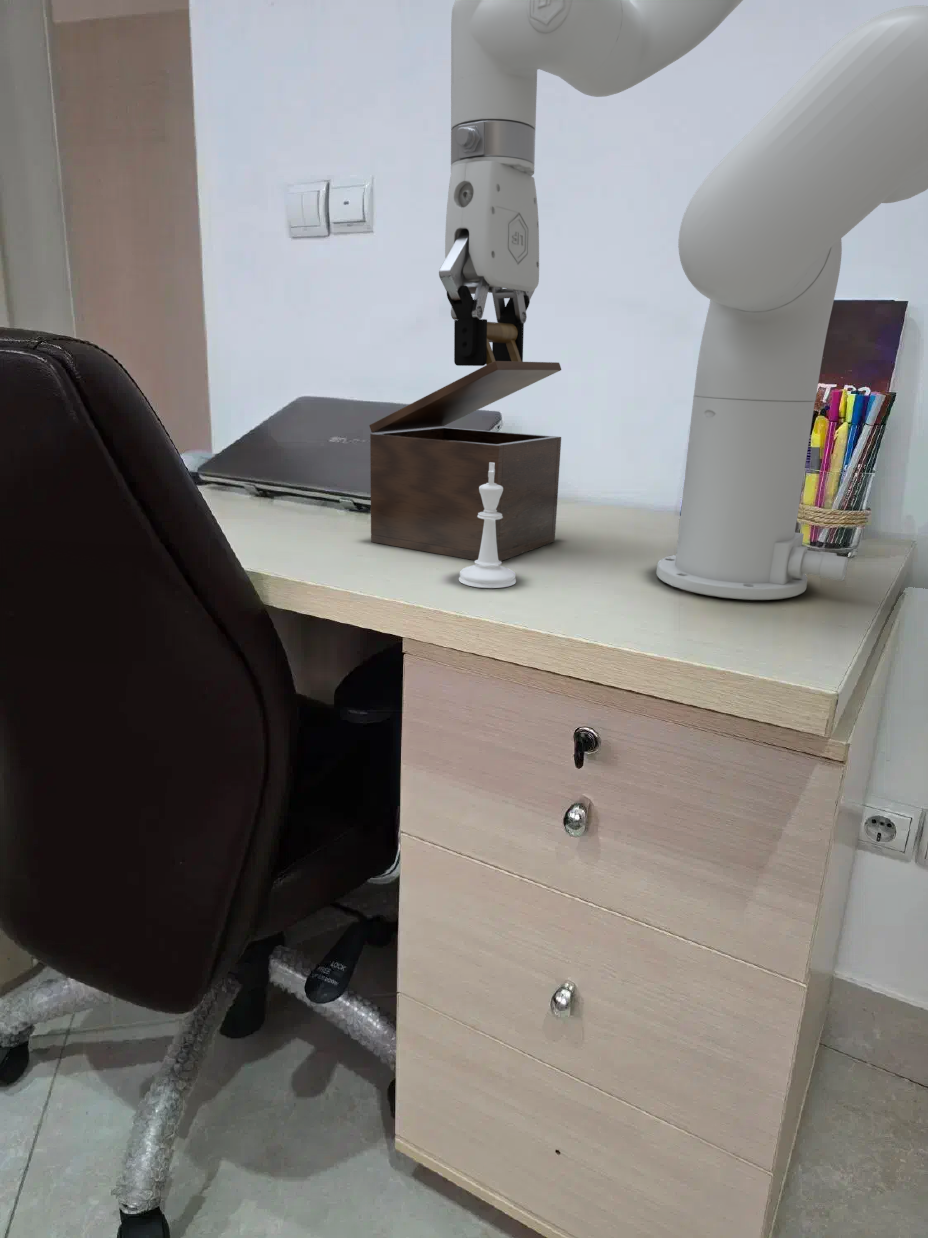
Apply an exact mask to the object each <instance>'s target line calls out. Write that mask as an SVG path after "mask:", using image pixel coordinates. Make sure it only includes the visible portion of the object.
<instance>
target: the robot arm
mask: <svg viewBox="0 0 928 1238" xmlns="http://www.w3.org/2000/svg"><path fill="white" fill-rule="evenodd" d="M743 1H744V0H454V2H453V5H452V9H451V18H450V19H451V20H450V21H451V22H450V129H451V130H450V178H449V183H448V192H447V194H448V195H447V203H446V216H445V234H444V235H445V236H444V237H445V239H444V244H445V245H444V260H443V263H442V264H441V265H440V268H439V270H438V277H439V279H440V281H441V283H442V286H443V287H444V290H445V292H446V298H447V300H448V302H449V305H450V306H451V308H450V316H451V319H452V320H454V321H453V322H454V324H453V327H454V331H453V337H454V340H453V341H454V342H453V344H454V345H453V347H454V348H453V351H454V352H453V362H454V365H455V366H458V367H484V366H486V361H487V322H488V318H487V319H486V318H483V316H484V312H485V307H486V303H487V298H488V295H489V294H491V295H492V300H493V306H494V311H495V312H494V313H495V318H496V322H497V323H507V324H513V325H514V326H515V327H516V328H517V331H518V335H517V338H516V340H515V343H516V346H517V349H518V352H519V355H520V358H521V361H522V362H524V332H525V331H524V330H525V329H524V327H525V326H524V325H525V324H526V322H527V310H528V308H529V306H530V303H531V299H532V296H533V295H534V293H535V291H536V289H537V287H538V286H539V282H540V226H539V208H538V206H539V205H538V196H537V188H536V182H535V177H534V175H535V165H536V164H535V163H536V160H535V159H536V129H537V127H536V125H537V94H538V93H537V91H538V70H540V71H542V72H545V73H548V74H550V75H554V76H557V77H558V78H560V79H561V80H563V81H564V82H565V83H567V84H568V85H570V86H571V87H572V88H574V89H575V90H577V91H578V92H580V93H582V94H584V95H585V96H590V97H594V98H602V97H610V96H613V95H616V94H619V93H622V92H624V91H626V90H628V89H631V88H633V87H634V86H637V85H638V84H640V83H642V82H644V81H645V80H646V79H648V78H650V77H652V76H654V75H655V74H657V73H658V72H660V71H662V70H664V69H665V68H667V67H668V66H670V65H671V64H673V63H675V62H676V61H678V60H679V59H681V58H683V57H684V56H686V55H687V54H688V53H690V52H691V51H692V50H694V49H695V48H696V47H698V46H699V45H700V44H701V43H702V42H704V41H705V40H706V39H707V38H708V37H709V36H710V35H711V34H712V33H713V32H714V31H716V29H717V28H718V27H719V26H720V25H721V24H722V23H723V22H724V21H725V19H727V18H728V16H729V15H730V14H732V12H734V10H736V8H737V7H738V6H739V5H740V4H741V3H742V2H743ZM927 190H928V5H924V4H923V5H907V6H901V7H897V8H894V9H893V8H892V9H890V10H887V11H884V12H882V13H880V14H878V15H876V16H873V17H871V18H870V19H868V20H866V21H865V22H863V23H861V24H859V25H858V26H856V27H855V28H853V29H852V30H851V31H850V32H848V33H847V34H845V35H844V36H843V37H842V38H841V39H838V41H837V42H836V43H834V44H833V45H832V46H831V47H830V48H829V49H828V50H827V51H825V53H823V54H822V56H821V57H820V58H819V59H818V60H817V61H816V62H814V63H813V65H812V66H811V67H810V68H809V69H808V70H807V71H806V72H805V73H804V74H803V75H802V76H801V77H799V79H798V80H797V81H796V82H795V83H794V84H793V85H792V87H791V88H790V89H788V91H787V92H786V93H785V94H783V96H782V97H781V98H780V99H779V100H778V101H777V102H776V103H775V104H774V105H773V106H772V107H771V108H770V109H769V110H768V111H767V112H766V113H765V114H764V115H763V117H761V119H760V120H759V121H758V122H757V123H756V124H755V125H754V126H753V127H752V128H751V129H750V130H749V131H748V132H747V133H746V134H745V135H744V136H743V137H742V138H741V139H740V141H738V143H737V144H736V145H735V146H734V147H733V148H731V150H729V152H728V153H727V154H726V155H725V156H724V157H723V158H722V159H721V160H720V161H719V163H718V164H717V165H716V166H715V167H714V168H713V169H712V170H711V171H710V173H708V175H707V176H706V177H705V179H704V180H702V182H701V184H700V185H699V186H698V187H697V189H696V190H695V192H694V194H693V195H692V197H691V198H690V200H689V202H688V204H687V206H686V208H685V211H684V213H683V214H682V215H683V216H682V219H681V222H680V227H679V231H678V242H677V243H678V246H677V247H678V255H679V261H680V265H681V267H682V270H683V272H684V274H685V276H686V278H687V280H688V281H689V283H690V284H691V285H692V286H693V288H695V290H696V291H697V292H699V293H700V294H701V295H702V296H704V297H706V298H707V299H709V304H708V309H707V312H706V313H707V314H706V319H705V322H704V327H703V332H702V336H701V342H700V347H699V352H698V359H697V364H696V365H697V366H696V372H695V382H694V391H693V396H692V405H691V406H692V407H691V416H690V425H689V433H688V442H687V443H688V444H687V451H686V453H687V454H686V461H685V470H684V471H685V472H684V480H683V489H682V491H683V492H682V499H681V507H680V516H679V527H678V536H677V544H676V553H675V554H673V555H669V556H665V557H663V558H661V559H659V560H658V562H657V563H656V574H655V575H656V576H657V577H658V579H659V580H660V581H662V582H663V583H665V584H667V585H669V586H671V587H674V588H677V589H680V590H682V591H686V592H690V593H695V594H699V595H705V596H710V597H717V598H722V599H735V600H748V601H749V600H750V601H770V600H783V599H789V598H793V597H797V596H799V595H801V594H804V593H805V592H806V590H807V587H808V576H807V575H811V576H817V577H819V578H820V579H821V578H822V579H828V580H835V581H841V582H843V581H845V578H846V574H847V569H848V564H849V558H848V556H841V555H838V554H837V552H829V551H824V550H823V551H822V550H820V551H817V550H810V549H809V548H808V546H804V545H803V540H804V533H802V532H796V528H797V521H798V515H799V509H800V503H801V495H802V489H803V481H804V476H805V470H806V462H807V456H808V449H809V442H810V436H811V429H812V423H813V418H814V417H813V416H814V410H815V404H816V400H817V393H818V387H819V380H820V374H821V367H822V362H823V355H824V349H825V345H826V339H827V334H828V328H829V325H830V324H829V323H830V318H831V314H832V311H833V307H834V301H835V297H836V292H837V288H838V284H839V283H838V282H839V279H840V278H839V276H840V271H841V265H842V251H843V246H842V245H843V244H842V243H843V242H842V239H843V237H845V236H846V235H847V234H848V233H850V231H851V230H853V229H854V228H855V227H856V226H858V225H859V223H861V222H862V221H863V220H864V219H865V218H866V217H867V216H869V215H870V214H871V213H872V212H873V211H875V210H876V209H877V207H879V206H881V204H892V203H898V202H902V201H905V200H909V199H911V198H913V197H915V196H918V195H920V194H921V193H924V192H926V191H927ZM473 295H474V297H473ZM505 299H508V301H507V303H506V301H505ZM491 343H492V345H491V349H492V352H493V355H494V358H495V361H511V358H510V355H509V352H508V349H507V346H506V343H494V342H491Z"/></svg>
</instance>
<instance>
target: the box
mask: <svg viewBox="0 0 928 1238" xmlns="http://www.w3.org/2000/svg"><path fill="white" fill-rule="evenodd" d="M369 436H370V437H369V438H370V439H369V441H370V443H369V444H370V449H369V450H370V452H369V453H370V455H369V457H370V460H369V461H370V542H371V543H375V544H380V545H386V546H393V547H398V548H403V549H410V550H414V551H415V550H416V551H420V552H426V553H431V554H437V555H443V556H448V557H449V556H450V557H455V558H461V559H466V560H471V561H475V560H478V557H479V552H480V547H481V541H482V534H483V527H484V519H480V518H478V517H477V515H478V513H479V512H484V511H483V510H484V506H483V502H482V498H481V494H480V491H479V487H480V486H481V485H483V484H486V483H488V481H489V477H488V472H489V463H495V475H494V483H496V484H497V485H501V486H502V487H503V492H502V495H501V497H500V499H499V503H498V506H497V508H496V510H497V512H499V513H501V514H502V516H503V518H501V519H497V520H495V525H496V542H497V553H498V560H499V561H501V562H502V561H505V560H508V559H511V558H513V557H517V556H519V555H521V554H524V553H527V552H529V551H532V550H535V549H538V548H541V547H544V546H546V545H548V544H552V543H554V542H556V527H557V514H558V513H557V512H558V499H559V498H558V496H559V481H560V465H561V464H560V463H561V449H562V436H555V435H544V434H530V433H520V432H519V433H518V432H506V431H495V430H482V429H471V428H460V427H459V428H458V427H445V426H439V427H428V428H418V429H407V430H396V431H385V432H374V433H370V435H369Z"/></svg>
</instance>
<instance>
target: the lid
mask: <svg viewBox="0 0 928 1238" xmlns="http://www.w3.org/2000/svg"><path fill="white" fill-rule="evenodd" d="M517 335H518V331H517V328H516V327H515V326H514V325H513V324H507V323H498V322H497V321H496V322H495V321H487V361H486V364H485V365H484V366H481V367H480V368H478V369H476V370H474V371H472V372H470V373H469V374H466V375H464V376H462V377H460V378H458V379H457V380H455V381H453V382H450V383H449V384H446V385H445V386H443V387H441V388H439V389H437V390H435V391H433V392H431V393H429V394H427V395H425V396H423V397H422V398H419V399H417V400H416V401H414V402H412V403H409V404H407V405H406V406H403V407H402V408H400V409H398V410H396V411H394V412H391V413H390V414H387V415H386V416H384V417H382V418H380V419H378V420H377V421H375V422H373V423H370V424H369V425H368V426H369V429H370V432H371V434H374V433H385V432H395V431H406V430H417V429H427V428H439V427H445V426H447V425H449V424H451V423H453V422H455V421H457V420H459V419H461V418H464V417H466V416H467V415H470V414H472V413H474V412H476V411H479V410H480V409H483V408H485V407H487V406H489V405H491V404H493V403H495V402H497V401H499V400H502V399H504V398H506V397H508V396H510V395H512V394H514V393H516V392H519V391H520V390H522V389H525V388H527V387H529V386H531V385H533V384H535V383H538V382H539V381H542V380H544V379H546V378H548V377H551V376H552V375H554V374H556V373H558V372H561V371H562V367H561V364H560V362H556V361H555V362H552V361H523V362H522V361H521V358H520V355H519V352H518V349H517V346H516V343H515V340H516V338H517ZM492 342H494V343H506V346H507V349H508V352H509V355H510V358H511V361H495V358H494V355H493V352H492V345H491V343H492Z"/></svg>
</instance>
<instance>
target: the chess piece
mask: <svg viewBox="0 0 928 1238" xmlns="http://www.w3.org/2000/svg"><path fill="white" fill-rule="evenodd" d="M494 475H495V463H489V472H488V477H489V481H488V483H486V484H483V485H481V486H480V487H479V491H480V494H481V498H482V502H483V506H484V510H483V511H484V512H479V513H478V515H477V517H478V518H480V519H484V527H483V534H482V541H481V547H480V552H479V557H478V560H474V564H473V565H468V566H465V567H464V568H462V569H461V570H460V571H459V577H458V581H459V582H460V583H461V584H463V585H465V586H469V587H472V588H479V589H502V588H508V587H511V586H514V585H515V584H516V583H517V579H516V572H515V571H514V570H513V569H511V568H508V567H507V566H504V565H502V564H503V562H502V561H499V560H498V553H497V542H496V525H495V520H497V519H501V518H503V516H502V514H501V513H499V512H497V510H496V508H497V506H498V503H499V499H500V497H501V495H502V492H503V487H502V486H501V485H497V484H496V483H494Z"/></svg>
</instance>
